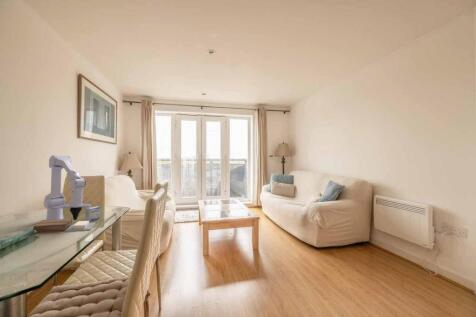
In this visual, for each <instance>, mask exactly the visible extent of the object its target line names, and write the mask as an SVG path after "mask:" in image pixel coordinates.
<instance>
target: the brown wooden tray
mask: <svg viewBox="0 0 476 317" xmlns="http://www.w3.org/2000/svg"><path fill="white" fill-rule="evenodd" d="M72 222H73V218H63V219H55V220H46V219H43V220H41V221H40V222H39V223H36V224H34V225H33V229H32V231H33V230H36V231H37V232H36V233H35V234H44V233H46V234H47V233H60V232H65V230H66V229H68V228H69V227H70V226H71V225H72V224H73V223H72Z"/></svg>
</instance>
